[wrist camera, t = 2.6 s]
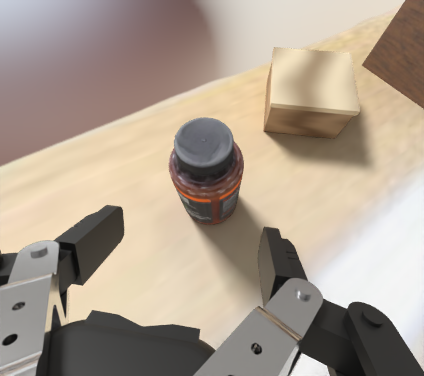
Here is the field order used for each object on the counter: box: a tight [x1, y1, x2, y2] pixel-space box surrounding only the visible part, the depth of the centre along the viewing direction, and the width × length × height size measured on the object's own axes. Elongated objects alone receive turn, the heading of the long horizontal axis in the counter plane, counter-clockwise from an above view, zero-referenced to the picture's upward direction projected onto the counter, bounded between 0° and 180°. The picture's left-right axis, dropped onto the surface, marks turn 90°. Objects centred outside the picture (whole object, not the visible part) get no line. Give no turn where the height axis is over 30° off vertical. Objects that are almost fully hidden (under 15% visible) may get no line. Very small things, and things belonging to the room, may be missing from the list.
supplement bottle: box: [169, 118, 244, 224], centre depth 19 cm, size 6×6×11 cm
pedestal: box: [264, 47, 360, 139], centre depth 27 cm, size 9×9×5 cm
